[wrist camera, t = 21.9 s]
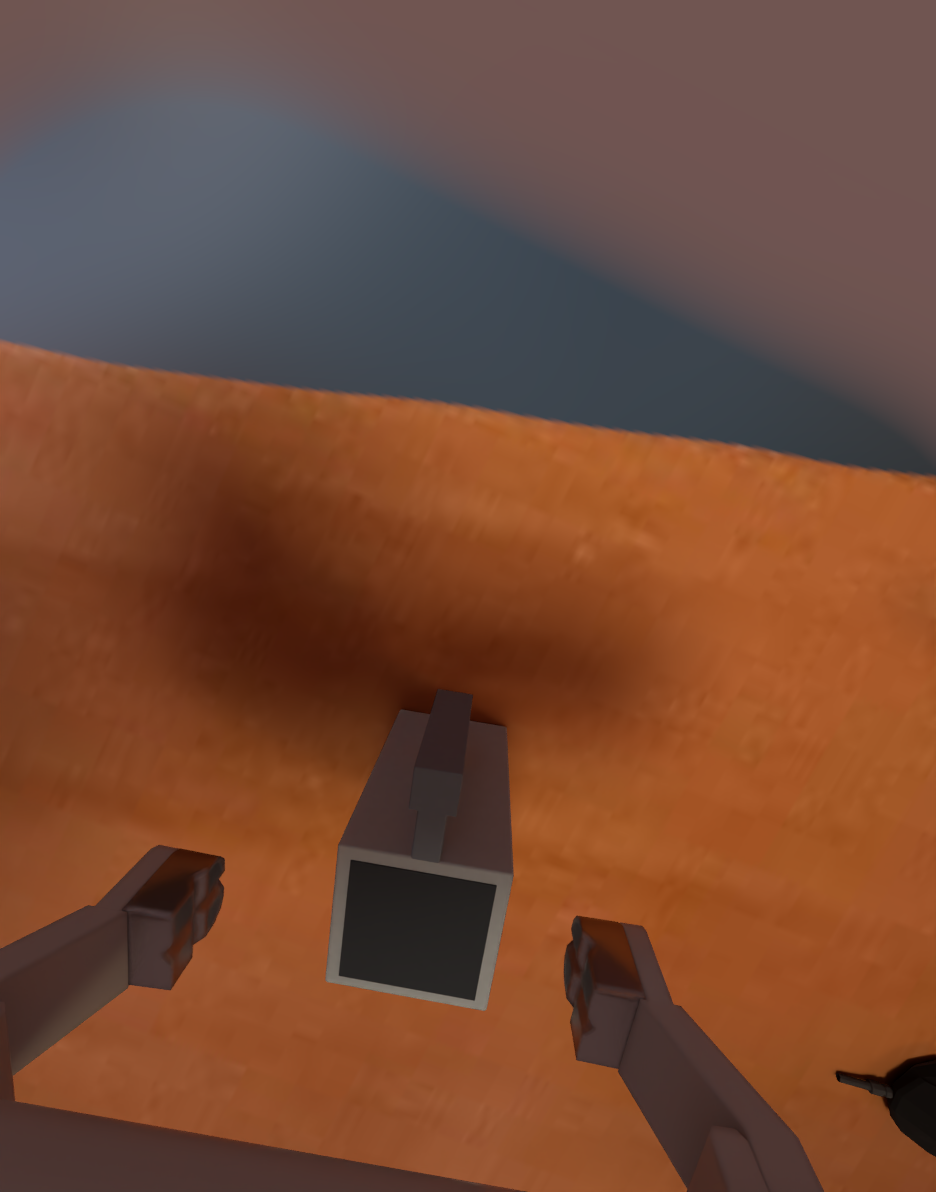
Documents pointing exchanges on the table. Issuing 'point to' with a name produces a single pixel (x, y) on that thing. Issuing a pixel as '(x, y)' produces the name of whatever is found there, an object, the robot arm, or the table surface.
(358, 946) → the grey box with ridge
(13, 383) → the table surface
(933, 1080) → the gaming mouse
